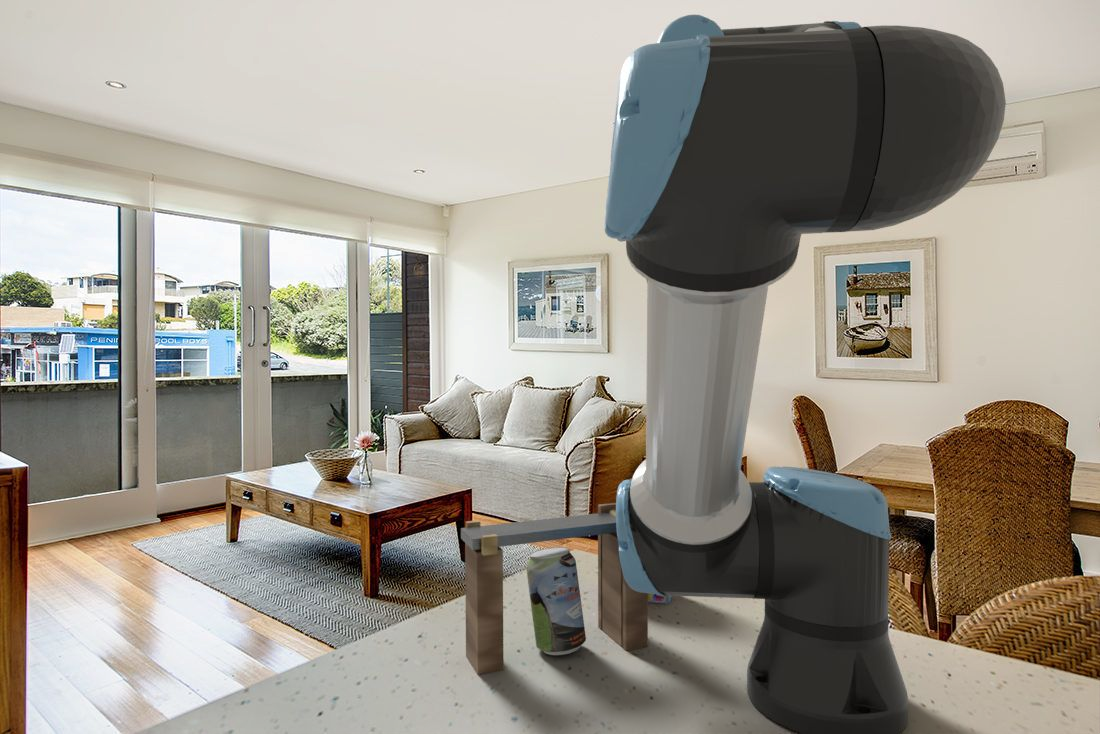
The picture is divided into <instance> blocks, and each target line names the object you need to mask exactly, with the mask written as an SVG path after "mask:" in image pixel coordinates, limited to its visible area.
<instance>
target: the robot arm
mask: <svg viewBox="0 0 1100 734" xmlns="http://www.w3.org/2000/svg"><path fill="white" fill-rule="evenodd" d="M1004 87H1005V86H1004V83H1003V80H1002V77H1001V74H1000V72H999V69H998V67H997V66H996V64H995V63H994V61H993V60H992V59H991V57H990V56H989V55H988V54H987V53H986V52H985V51H984V49H982V48H981V47H980V46H979V45H976V44H975V43H973V42H972V41H970V40H969V39H966V38H964V37H962V36H959V35H957V34H954V33H949V32H946V31H941V30H937V29H932V28H928V27H920V26H909V25H907V26H906V25H871V26H861V25H860V24H859V23H858V22H855V21H836V20H827V21H822V22H818V23H817V22H816V23H803V24H801V23H800V24H789V25H778V26H767V27H763V26H761V27H760V26H759V27H755V26H754V27H742V28H727V29H726V28H724V29H722V28H721V27H720V26H719V25H718V23H717V22H715V21H714V20H712V19H711V18H709V17H705V16H703V15H701V14H687V15H684V16H680V17H678V18H677V19H674V20H673V21H672V22H670V23H669V24H667V26H666V27H665V28H664V29H663V31H662V32H661V34H660V36H659V37H658V40H657V43H656V42H655V43H650V44H649V43H648V44H645V45H643V46H640V47H639V48H636V49H635V50H633V51H632V52H631V53H630V54H629V55H628V56H627V58H626V59H625V61H624V63H623V65H622V68H621V69H620V74H619V80H618V88H617V97H616V103H615V112H614V113H615V114H614V122H613V123H614V124H613V131H612V132H613V133H612V140H611V141H612V142H611V151H610V167H609V173H608V174H609V175H608V182H607V195H606V203H605V204H606V205H605V216H604V233H605V234H606V236H607V237H609V238H611V239H616V240H617V241H618V242H622V243H623V242H625V251H626V256H627V259H628V261H629V264H630V265H631V267H632V268H633V269H634V270H635V271H636V273H637V274H638V275H640V276H641V277H642V278H644V279H646V283H647V284H646V285H647V287H646V288H647V289H646V293H647V294H646V295H647V296H646V297H647V298H646V395H645V396H646V398H645V399H646V400H645V401H646V405H645V406H646V407H645V409H646V412H645V413H646V414H645V415H646V416H645V417H646V419H645V420H646V421H645V423H646V425H645V427H646V428H645V459H644V460H643V461H642V462H641V463H640V464H639V465H638V467H637V468H636V470H635V471H634V473H633V475H632V478H630V479H625V480H622V481H621V482H620V483H619V484H618V487H617V490H616V496H615V499H616V500H615V503H616V528H617V537H618V543H619V557H620V563H621V568H622V572H623V576H624V578H625V581H626V583H627V584H628V586H629V587H630V588H631V589H633V590H634V591H637V592H640V593H650V594H657V595H658V596H662V597H666V596H671V597H699V598H701V597H703V598H723V599H724V598H725V599H726V598H728V599H753V600H754V599H755V600H764V617H763V621H762V624H761V626H760V630H759V632H758V636H757V639H756V640H755V644H754V647H753V649H752V653H751V656H750V658H749V660H748V664H747V669H746V670H747V671H746V692H747V696H748V698H749V700H750V702H751V703H752V704H753V706H754V707H755V708H756V709H757V711H760V713H761V714H763V715H764V716H765V717H767V718H768V719H770V720H771V721H773V722H775V723H777V724H779V725H780V726H783V727H785V728H787V729H789V730H792V731H795V732H796V733H799V734H901V733H902V731H904V730H905V729H906V727H907V725H908V721H909V696H908V691H907V688H906V684H905V681H904V679H903V675H902V673H901V669H900V667H899V664H898V661H897V658H896V655H895V652H894V649H893V645H892V643H891V639H890V637H889V612H890V611H889V609H890V608H889V603H890V602H889V598H890V597H889V596H890V595H889V594H890V593H889V589H890V587H889V586H890V585H889V584H890V583H889V582H890V581H889V580H890V577H889V576H890V540H891V539H892V532H891V530H890V522H889V521H890V520H889V504H888V501H887V498H886V496H885V494H883V492H882V491H881V490H879V489H878V488H877V487H876V486H874V485H872V484H871V483H868V482H865V481H863V480H859V479H857V478H854V477H848V476H845V475H842V474H838V473H837V474H836V473H833V472H829V471H822V470H817V469H810V468H805V467H804V468H803V467H794V466H782V467H781V466H771V467H768V468H766V470H765V473H764V474H763V476H762V480H763V481H762V482H761V481H758V482H755V481H753V482H752V481H751V482H749V480H748V478H747V477H746V475H745V474H744V472H743V471H742V469H741V467H742V461H743V455H744V448H745V441H746V434H747V429H748V422H749V421H748V420H749V415H750V408H751V401H752V395H753V389H754V382H755V375H756V368H757V362H758V356H759V349H760V343H761V336H762V330H763V329H762V328H763V323H764V316H765V310H766V303H767V298H768V289H769V286H770V285H773V284H775V283H777V282H779V281H780V280H781V279H782V278H784V277H785V276H786V275H787V274H788V273H789V272H790V271H791V270H792V269H793V267H794V265H795V263H796V261H797V258H798V252H799V247H800V242H801V237H802V235H806V234H807V235H809V234H823V233H826V234H827V233H828V234H829V233H848V232H865V231H876V230H879V229H884V228H888V227H890V228H891V227H893V226H896V225H899V224H902V223H904V222H907V221H910V220H913V219H915V218H917V217H919V216H920V217H921V216H922V215H924V214H927V213H928V212H930V211H932V210H934V209H935V208H937V207H939V206H940V205H942V204H943V203H945V202H946V201H948V200H949V199H950V198H952V197H954V196H955V195H956V194H957V193H959V192H960V191H961V190H962V188H964V187H965V186H966V185H968V183H969V182H970V181H971V180H973V178H974V177H975V175H977V173H978V172H979V171H980V170H981V168H982V167H983V166H984V164H985V163H987V161H988V159H989V157H990V155H991V153H992V151H993V150H994V148H995V146H996V144H997V142H998V140H999V137H1000V135H1001V131H1002V128H1003V125H1004V121H1005V113H1006V105H1007V104H1006V103H1007V101H1006V96H1005V95H1006V94H1005V88H1004Z"/></svg>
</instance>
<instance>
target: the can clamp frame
mask: <svg viewBox="0 0 1100 734" xmlns="http://www.w3.org/2000/svg"><path fill="white" fill-rule="evenodd" d="M610 510H616V502H610V503H609V502H608V503H602V504H600V503H599V504H597V513H605V512H609V511H610ZM477 526H481V521H480V520H478V519H477V520H476V519H475V520H469V521H467V520H466V521H465V528H468V527H477ZM464 543H465V542H464ZM597 543H598V544H597V590H598V591H597V599H598V600H597V602H598V603H597V610H598V611H597V615H598V618H597V621H598V622H597V626H598V627H597V628H599V629H600V630H602V632H603V633H604V634H606V635H607V636H608V637H609V638H611V640H612V641H614V642H615V643H616V644H617V645H618V646H620V647H622V649H623V650H625V651H626V652H627V651H632V650H638V649H641V648H646V647H649V645H648V644H649V637H648V636H649V635H648V633H649V632H648V631H649V628H648V627H649V623H648V622H649V618H648V617H649V615H648V614H649V613H648V612H649V607H648V606H649V603H648V593H640V592H637V591H634V590H633V589H631V588H630V587H629V586H628V584H627V583H626V581H625V578H624V576H623V572H622V568H621V563H620V557H619V543H618V537H617V532H616V533H608V534H600V535H597ZM464 546H465V547H464V562H465V564H464V565H465V566H464V567H465V570H464V571H465V572H464V573H465V574H464V576H465V579H464V580H465V583H464V585H465V591H464V592H465V656H466V658H467V660H468V661H469V663H470V664H471V666H472V668H473V669H474V671H475V673H476V674H477V675H478V676H479V675H483V674H489V673H494V672H499V671H504V667H505V666H504V554H503V553H504V550H503V548H502V547H498V543H497V535H496V534H491V535H483V536H481V549H478V550H472V549H471V548H470V547H469V546H468V545H467V544H466V543H465V544H464Z"/></svg>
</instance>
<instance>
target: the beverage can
mask: <svg viewBox="0 0 1100 734" xmlns="http://www.w3.org/2000/svg"><path fill="white" fill-rule="evenodd" d="M528 556H529V559H528V560H527V563H526V566H525V568H526V577H527V578H526V579H527V585H528V593H529V600H530V606H531V607H530V608H531V609H530V610H531V616H532V622H533V623H532V624H533V632H534V638H535V646H536V648H537V649H538V650H540V651H542V652H543V653H544V654H546V655H549V656H563V655H568V654H571V653H572V654H573V653H574V652H576V651H578V650H579V649H580V648H581V647H582V645H583V644H585V643H586V640H587V636H586V629H585V621H584V615H583V613H584V612H583V605H582V600H581V598H582V597H581V589H580V584H579V576H578V569H577V562H576V558H575V557H574V556H573V554H572V553H571V551H570V548H568V547H564V546H559V547H558V546H556V547H555V546H554V547H547V548H540V549H538V550H535V551H532V552H531V553H529V555H528Z"/></svg>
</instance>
